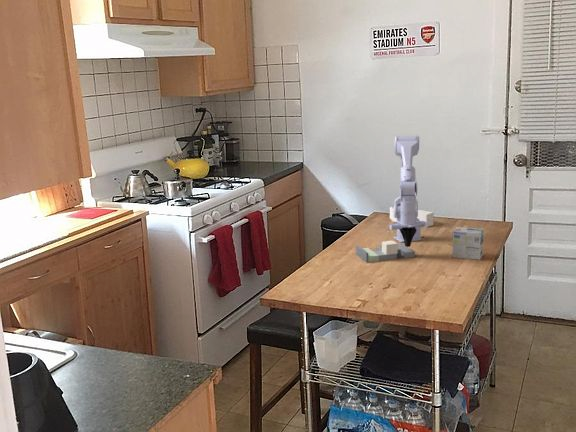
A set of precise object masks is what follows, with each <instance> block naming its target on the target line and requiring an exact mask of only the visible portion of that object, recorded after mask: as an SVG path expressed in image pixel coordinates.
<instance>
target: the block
mask: <svg viewBox="0 0 576 432" xmlns="http://www.w3.org/2000/svg"><path fill="white" fill-rule="evenodd" d="M381 246H382V252H383V253H385V254H386V255H389V254H397V247H398V243H397V242H396V241H394V240H386V241H381Z"/></svg>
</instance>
